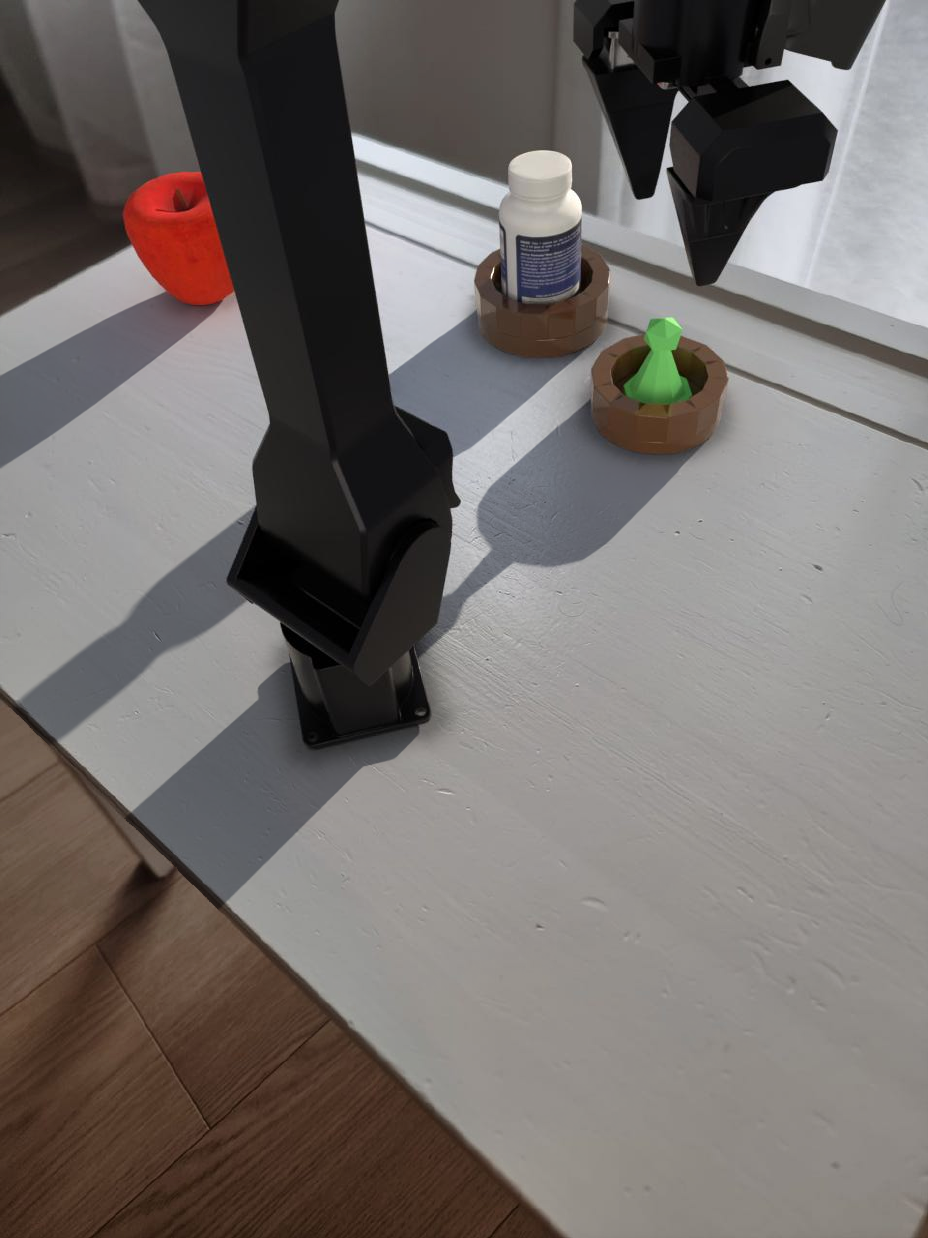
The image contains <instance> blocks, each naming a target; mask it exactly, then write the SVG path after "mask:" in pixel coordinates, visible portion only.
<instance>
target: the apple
mask: <svg viewBox="0 0 928 1238" xmlns="http://www.w3.org/2000/svg"><path fill="white" fill-rule="evenodd" d="M122 218H123V224H124V228H125V233H126V235H127V237H128V239H129V241H130V244H131V245H132V247H133V249H134V252H135V253H136V255H137V257H138V259H139V260H140V262H141V263H142V264H143V266H144V267H145V269H146V271H147V272H148V273H149V274H150V276H151V277H152V279H154V280H155V282H157V283H158V284H159V286H161V287H162V289H164V291H166V292H167V294H169V295H170V296H172V297H173V298H175V299H176V300H177V301H179V302H180V303H183V304H188V305H192V306H193V305H194V306H195V305H196V306H206V305H213V304H216V303H219V302H220V301H222V300H224V299H225V298H227V297H228V296H230V295H232V294H233V293H235V292H234V288H233V285H232V281H231V278H230V274H229V270H228V267H227V263H226V260H225V256H224V253H223V249H222V245H221V242H220V238H219V235H218V231H217V228H216V224H215V220H214V217H213V213H212V210H211V206H210V203H209V199H208V195H207V192H206V188H205V185H204V181H203V178H202V174H201V171H195V172H194V171H193V172H192V171H190V172H189V171H181V172H174V173H169V174H164V175H160V176H158V177H156V178H153V179H150V180H148V181H146V182H145V183H144V184H142V185H140V187H139V188H137V189H136V190H134V191H133V192H132V193H130V195H129V197H128V199H127V201H126V203H124V207H123V211H122Z"/></svg>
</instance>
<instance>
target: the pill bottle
mask: <svg viewBox="0 0 928 1238" xmlns="http://www.w3.org/2000/svg"><path fill="white" fill-rule="evenodd" d="M507 174H508V175H507V176H508V177H507V179H508V183H507V184H508V190H509V191H508V192H507V193H506V194H505V195H504V196H503V197H502V199H501V201H500V203H499V208H498V230H499V232H498V233H499V249H500V258H501V282H502V294H503V295H504V296H505V297H507V298H508V299H511V300H514V301H518V302H521V303H525V304H552V303H557V302H562V301H567V300H569V299H571V298H573V297H575V296H577V295H579V294H580V270H581V244H582V225H583V224H582V223H583V222H582V221H583V218H582V217H583V213H582V212H583V206H582V202H581V199H580V197H579V196H578V194H577V193H576V192H575V191H574V190H573V189H572V186H573V185H572V183H573V164H572V162H571V159H570V158H569V157H568V155H565V154H563V153H561V152H558V151H553V150H547V149H546V150H544V149H543V150H541V149H540V150H532V151H527V152H525V153H521V154H519V155H516V156H515V157H514V158H513V159H512V160H511V161H510V162H509V164H508V168H507Z"/></svg>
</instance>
